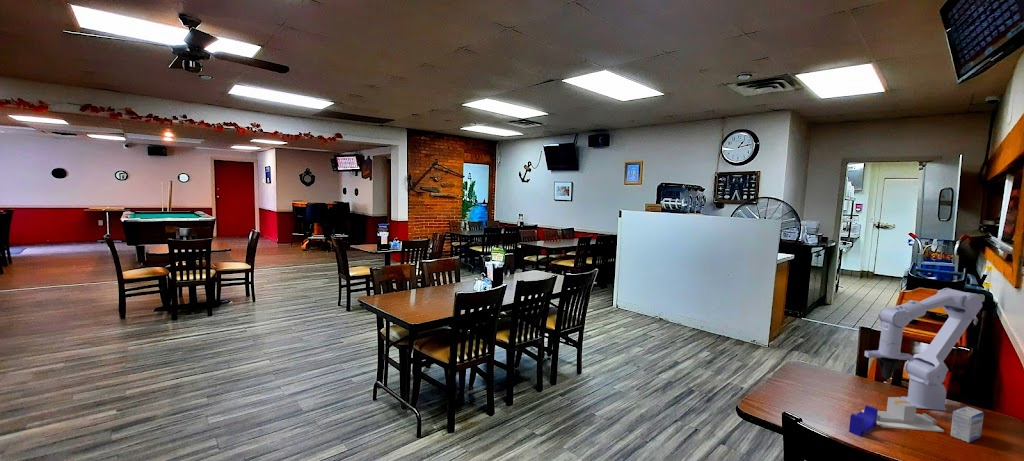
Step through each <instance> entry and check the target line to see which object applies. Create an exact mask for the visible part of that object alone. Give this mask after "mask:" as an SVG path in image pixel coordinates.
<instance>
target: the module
mask: <svg viewBox="0 0 1024 461" xmlns="http://www.w3.org/2000/svg"><path fill="white" fill-rule="evenodd" d="M886 412H889V413H891V414H893V415H894V416H896V417H898V418H900V419H901V420H903V421H910V420H915V415H916V414H917V408H916V406H915V405H913V404H911V403H910V402H908V401H906V400H904V399H902V398H901V396H893V397H892V396H889V397H887V404H886Z"/></svg>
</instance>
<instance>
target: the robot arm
mask: <svg viewBox="0 0 1024 461" xmlns="http://www.w3.org/2000/svg"><path fill="white" fill-rule="evenodd" d="M940 307H942V309H943V311H944V312H945V313H947V314H948V318H947V320H946V321H945V322H944V323H943V325H942V327H941V328H940V329H939V331H937V333H936V335H935V336H934V338H933V339H932V340H931V341H930V344H929V345H928V346H927V348H926V349H925V351H924V352H920V353H915V354H913V355H912V354H910V353H906V352H905V353H904V352H901V350H902V349H901V348H902V341H903V332H904V328H906V327H907V326H908V325H909V324H910V322H912V321H913V320H915V319H918V318H920V317H923V316H925V315H926V313H927V311H931V310H933V309H937V308H940ZM982 308H983V302H982V299H981V297H980V296H979V294H976V293H970V292H965V291H962V290H958V289H952V288H950V287H945V288H942V289H939V290H937V292H936V294H933V295H932V296H929V297H926V298H925V299H922V300H921V301H918V300H912V299H910V300H908V301H907V302H906V303H902V304H900V305H899V304H898V305H895V306H893V307H890V306H887V307H884V308H882V309H880V312H879V313H878V314H877V317H878V320H879V321H880V322H879V325H880V327H881V330H880V338H879V343H878V344H879V345H878V349H877V350H876V349H875V350H864V355H863V356H864V357H866V358H869V359H871V358H872V359H873V358H875V359H876V361H877V363H878V365H879V369H880V373H881V377H882V378H884V379H885V380H890V379H891V377H892V376H893V374H894V372H895V371H896V369H898V367H900V366H901V365H902V362H901V361H905V364H904V370H905V371H904V372H906V373H907V377H908V378H909V381H908V391H907V396H900V398H902V399H904V400H906V401H908V402H910V403H911V404H913V405H915V406H916V409H922V410H923V409H925V410H937V411H947V408H945V406H946V398H947V389H946V387H945V385H944V384H943V382H944V381H945V380H946V375H947V374H948V372H949V368H948V367H947V365H946V363H945V362H944V361H945V360H946V358H947V357H948V355H949V354H950V352H951V351H952V350H953V348H954V347H955V346H956V344H957V343H958V341H959V340H960V338H961V337H962V335H963V334H964V332H965V331H966V330H967V329H968V327H969V325H970V324H971V323H972V321H973V320H974V319H975V318H976V316H977V315H978V313H979V312H980V310H981V309H982ZM900 360H901V361H900Z"/></svg>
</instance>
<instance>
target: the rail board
mask: <svg viewBox="0 0 1024 461" xmlns="http://www.w3.org/2000/svg"><path fill="white" fill-rule="evenodd" d="M861 412H863V413H864V409H862V410H861ZM876 425H879V427H881V428H885V429H886V428H888V429H901V430H912V431H913V430H915V431H927V432H928V431H929V432H939V433H940V432H941V433H944V432H945V431H944V429H942V428H941V427H940V426H938V425H937V419H935V418H934V417H933V416H931V415H929V414H927V413H925V412H922V414H921V413H916V415H915V420H910V421H903V420H901V419H900V418H898V417H896V416H894V415H893V414H891V413H889V412H887V410H886V411H884V410H883V411H882V410H878V413H877V423H876Z"/></svg>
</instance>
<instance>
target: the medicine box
mask: <svg viewBox="0 0 1024 461" xmlns="http://www.w3.org/2000/svg"><path fill="white" fill-rule="evenodd" d="M984 415H985V413H984V411H982V410H979V409H977V408H973V407H969V406H966V405H965V406H963V407H960V408H958V409H956V410H953V411H952V419H951V426H950V427H951V428H950V436H951V437H952V438H955V439H958V440H960V439H961V441H963V442H965V441H966V443H968V444H970V443H972V442H973V441H976V440H978V439H980V438H981V437H982V430H983V424H984V423H983V422H984V421H983V420H984ZM971 441H972V442H971ZM969 442H970V443H969Z"/></svg>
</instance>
